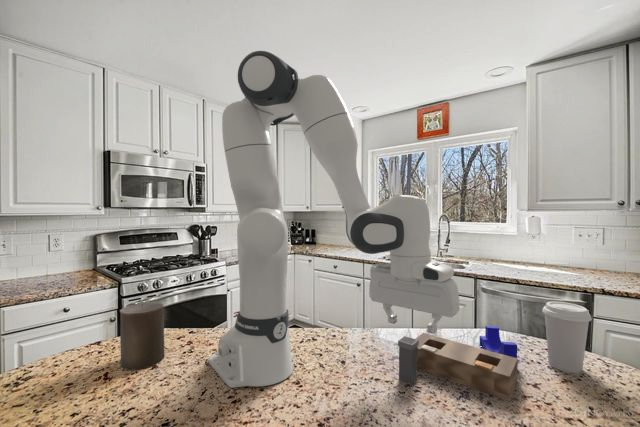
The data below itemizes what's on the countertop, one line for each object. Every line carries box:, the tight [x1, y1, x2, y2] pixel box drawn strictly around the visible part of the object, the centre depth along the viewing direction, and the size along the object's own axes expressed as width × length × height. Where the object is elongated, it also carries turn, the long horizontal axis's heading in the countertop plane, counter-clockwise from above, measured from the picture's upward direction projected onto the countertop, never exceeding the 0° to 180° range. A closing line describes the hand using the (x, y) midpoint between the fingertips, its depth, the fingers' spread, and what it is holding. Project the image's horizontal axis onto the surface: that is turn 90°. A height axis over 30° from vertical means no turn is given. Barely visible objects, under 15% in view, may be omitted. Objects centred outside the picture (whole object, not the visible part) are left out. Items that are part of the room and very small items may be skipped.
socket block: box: [415, 332, 519, 402], centre depth 73 cm, size 22×10×5 cm, turn 50°
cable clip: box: [479, 325, 518, 358], centre depth 81 cm, size 12×4×6 cm, turn 171°
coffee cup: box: [542, 301, 593, 374], centre depth 76 cm, size 10×10×15 cm
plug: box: [397, 335, 419, 386], centre depth 70 cm, size 3×3×9 cm
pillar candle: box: [119, 301, 165, 371], centre depth 78 cm, size 10×10×15 cm
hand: (411, 327), depth 70 cm, fingers open, 8 cm apart
